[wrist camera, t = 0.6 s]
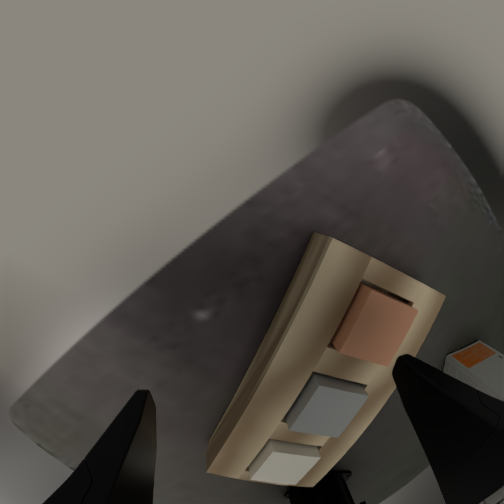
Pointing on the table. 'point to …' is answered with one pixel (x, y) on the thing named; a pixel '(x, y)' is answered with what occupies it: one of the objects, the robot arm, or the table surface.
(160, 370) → the table surface
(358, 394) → the grey key
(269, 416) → the wooden slotted tray
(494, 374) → the skincare box
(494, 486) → the robot arm
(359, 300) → the terracotta key
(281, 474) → the offwhite key
